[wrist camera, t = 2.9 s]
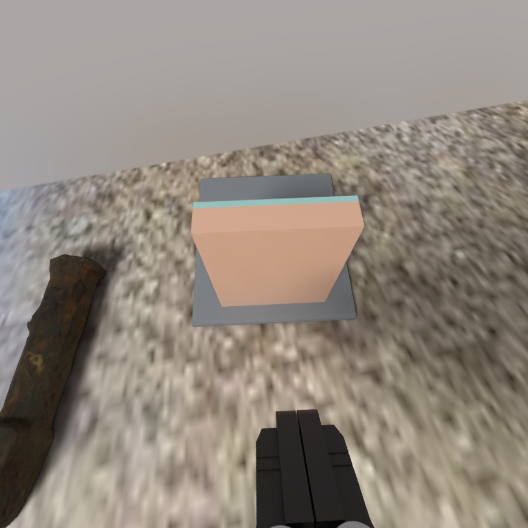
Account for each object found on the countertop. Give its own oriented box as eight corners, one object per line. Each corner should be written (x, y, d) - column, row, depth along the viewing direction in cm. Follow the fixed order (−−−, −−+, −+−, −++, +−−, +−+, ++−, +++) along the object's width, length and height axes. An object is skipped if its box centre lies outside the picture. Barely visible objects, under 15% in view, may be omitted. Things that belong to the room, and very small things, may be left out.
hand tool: (72, 269, 29) (39, 246, 25) (113, 272, 29) (87, 249, 25) (-25, 519, 21) (-98, 545, 17) (31, 525, 21) (-29, 553, 17)
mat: (329, 177, 34) (330, 173, 33) (354, 319, 27) (356, 317, 26) (201, 182, 33) (200, 178, 33) (193, 326, 26) (192, 325, 26)
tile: (321, 280, 28) (357, 195, 17) (325, 301, 27) (364, 226, 16) (222, 285, 27) (193, 202, 17) (221, 306, 27) (191, 233, 16)
